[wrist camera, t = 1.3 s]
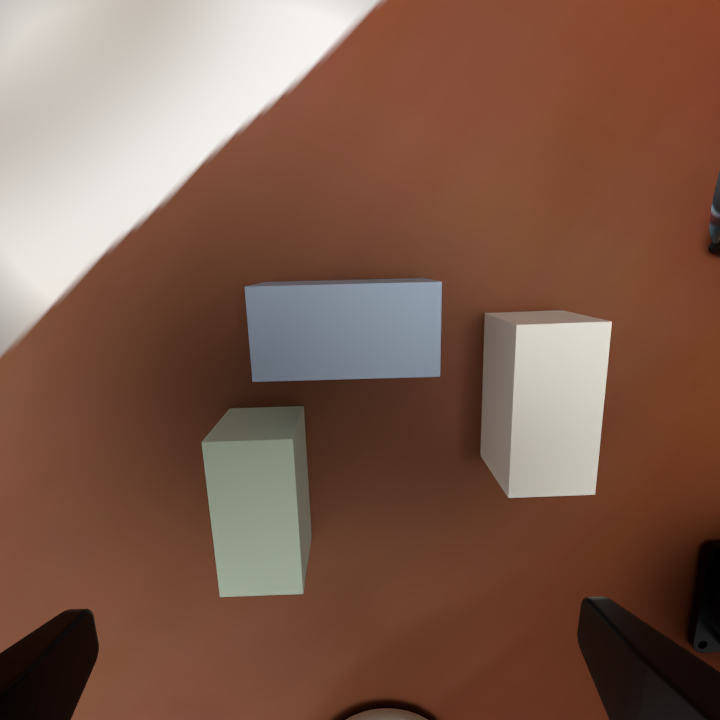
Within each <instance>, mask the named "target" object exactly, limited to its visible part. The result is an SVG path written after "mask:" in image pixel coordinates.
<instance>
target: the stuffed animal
mask: <svg viewBox="0 0 720 720" xmlns="http://www.w3.org/2000/svg"><path fill="white" fill-rule="evenodd" d="M710 236H711V239H712V243H711V244H710V246H709V248H708V250H709V252H711V253H714V254H717V255H719V256H720V172H719V176H718V180H717V184H716V188H715V192H714V197H713V202H712V209H711V217H710Z"/></svg>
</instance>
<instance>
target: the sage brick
mask: <svg viewBox="0 0 720 720" xmlns="http://www.w3.org/2000/svg"><path fill="white" fill-rule="evenodd" d="M201 443H202V451H203V459H204V468H205V476H206V485H207V493H208V501H209V510H210V518H211V526H212V535H213V543H214V551H215V560H216V568H217V576H218V585H219V593H220V597H235V596H262V595H289V594H303V593H304V586H305V579H306V572H307V565H308V559H309V552H310V545H311V538H312V533H311V516H310V500H309V483H308V466H307V450H306V433H305V417H304V406H289V407H258V408H230V409H229V410H228V411H227V412H226V413H225V415H224V416H223V417H222V418H221V419H220V421H219V422H218V423H217V424H216V425H215V427H214V428H213V429H212V430H211V431H210V433H209V434H208V435H207V436H206V437H205V438H204V440H203V441H202V442H201Z"/></svg>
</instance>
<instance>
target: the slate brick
mask: <svg viewBox="0 0 720 720" xmlns="http://www.w3.org/2000/svg"><path fill="white" fill-rule="evenodd" d="M245 298H246V310H247V322H248V334H249V346H250V358H251V370H252V382H268V381H304V380H340V379H375V378H411V377H440V357H441V303H442V282H441V281H436V280H432V279H427V278H402V279H362V280H322V281H282V282H263V283H259V284H254V285H250V286H245Z"/></svg>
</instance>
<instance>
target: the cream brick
mask: <svg viewBox="0 0 720 720" xmlns="http://www.w3.org/2000/svg"><path fill="white" fill-rule="evenodd" d="M611 326H612V321H608V320H603V319H599V318H594V317H590V316H585V315H581V314H576V313H572V312H567V311H563V310H554V311H527V312H499V313H485V323H484V355H483V387H482V419H481V451H480V456H481V457H482V459H483V460H484V462H485V463H486V465H487V467H488V468H489V470H490V471H491V473H492V474H493V476H494V477H495V479H496V480H497V482H498V483H499V485H500V486H501V488H502V489H503V491H504V492H505V494H506V495H507V497H508V498H522V497H547V496H572V495H595V491H596V481H597V470H598V460H599V450H600V439H601V429H602V419H603V408H604V398H605V388H606V378H607V367H608V357H609V347H610V336H611Z"/></svg>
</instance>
